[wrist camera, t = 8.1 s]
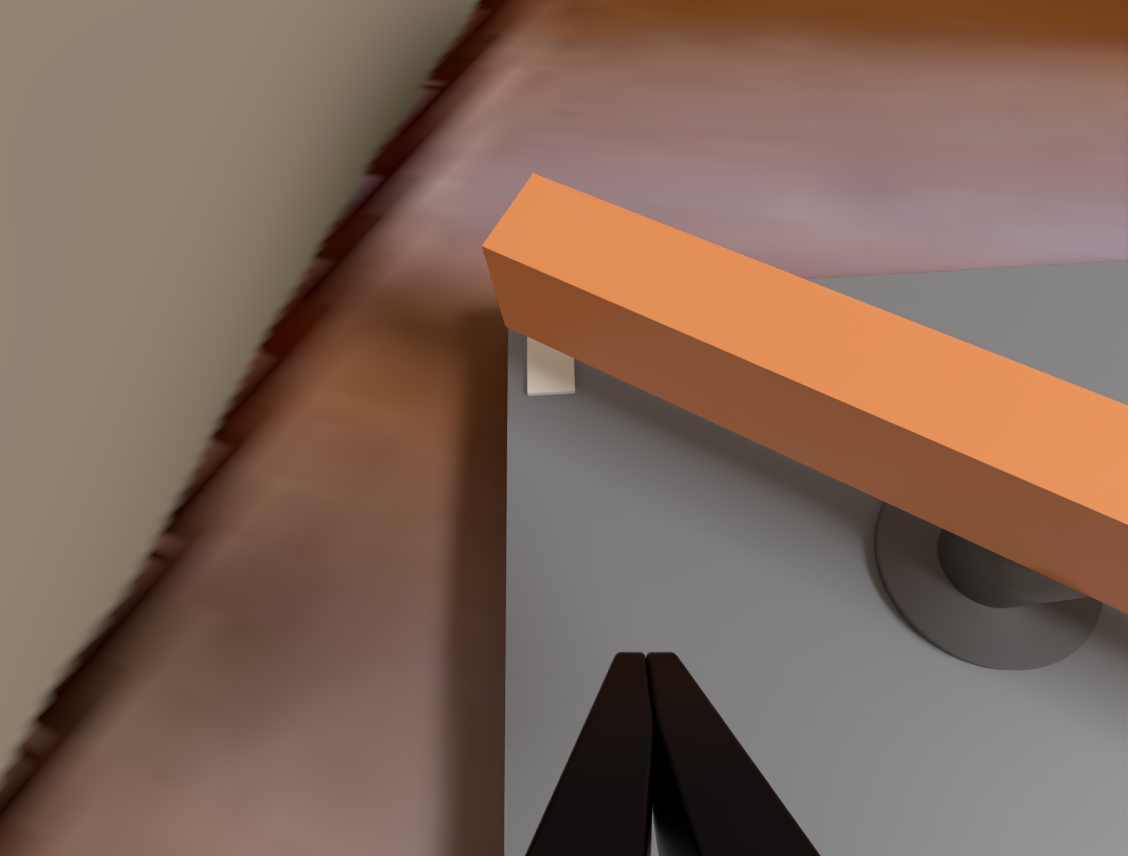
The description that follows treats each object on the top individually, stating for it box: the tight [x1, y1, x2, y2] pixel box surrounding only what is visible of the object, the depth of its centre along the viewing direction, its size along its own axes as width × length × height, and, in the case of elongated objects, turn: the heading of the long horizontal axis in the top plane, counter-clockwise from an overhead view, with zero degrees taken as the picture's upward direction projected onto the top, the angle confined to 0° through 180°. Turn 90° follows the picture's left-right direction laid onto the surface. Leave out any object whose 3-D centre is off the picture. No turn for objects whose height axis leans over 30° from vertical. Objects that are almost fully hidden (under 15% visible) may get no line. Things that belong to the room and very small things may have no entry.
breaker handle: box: [482, 173, 1128, 614], centre depth 14 cm, size 3×30×7 cm, turn 61°
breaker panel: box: [504, 261, 1128, 856], centre depth 19 cm, size 20×28×3 cm
